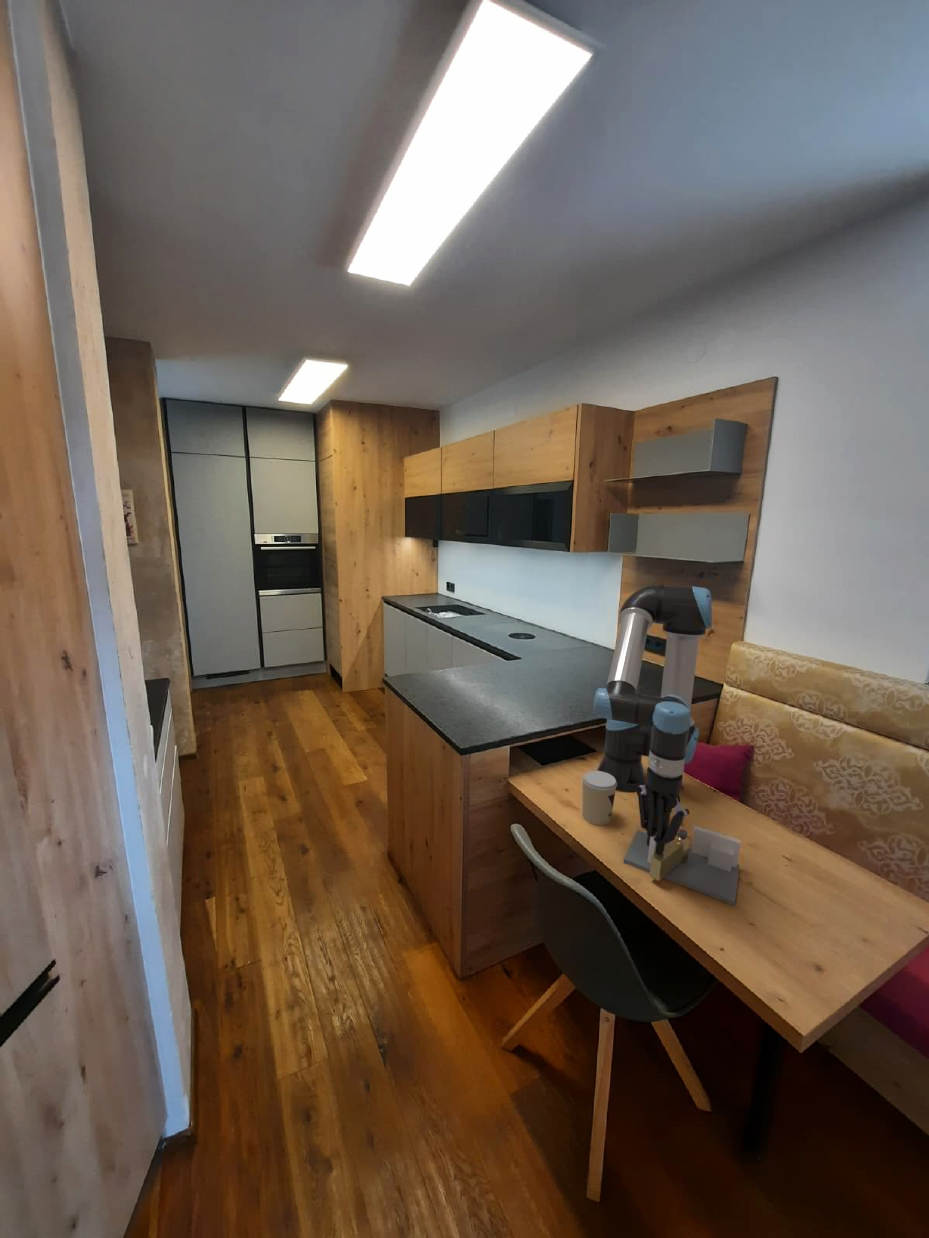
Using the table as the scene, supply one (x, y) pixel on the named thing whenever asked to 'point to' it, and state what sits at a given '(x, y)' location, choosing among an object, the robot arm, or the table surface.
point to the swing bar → (669, 857)
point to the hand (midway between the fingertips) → (653, 860)
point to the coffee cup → (598, 797)
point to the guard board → (698, 863)
